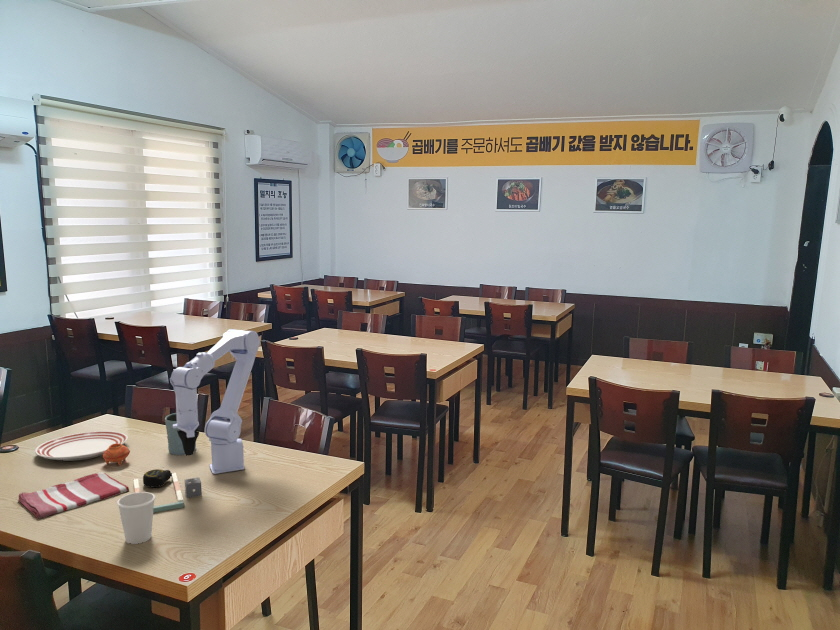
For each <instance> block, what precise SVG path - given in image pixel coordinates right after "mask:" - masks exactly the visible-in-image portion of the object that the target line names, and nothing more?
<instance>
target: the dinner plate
mask: <svg viewBox="0 0 840 630" xmlns="http://www.w3.org/2000/svg"><path fill="white" fill-rule="evenodd" d="M128 439H129V437H128V435H127V434H125V433H123V432H121V431H112V430H96V431H95V430H94V431H85V432H77V433H72V434H68V435H67V434H66V435H64V436H59V437H55V438H53V439H50V440H47V441H45V442H43V443H41V444H39V445H38V446H37V447H36V448H35V449H34V453H35V454H36V455H38V456H39V457H42V458H44V459H49V460H56V461H62V460H63V461H64V462H69V461H70V462H74V461H83V460H89V459H93V458H97V457H100V456H103V453H104V452H105V451H106V450H107V449H108V448H109V446H110V445H112V444H122V445H124V444H125V443H126V442H127V441H128Z"/></svg>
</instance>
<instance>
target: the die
mask: <svg viewBox="0 0 840 630" xmlns="http://www.w3.org/2000/svg"><path fill="white" fill-rule="evenodd" d="M184 493H185V498H186V499H191V498H196V497H202V493H203V492H202V481H201V478H200V477H199V476H198V477H192V478H186V479H184Z"/></svg>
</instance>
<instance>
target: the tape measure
mask: <svg viewBox="0 0 840 630" xmlns="http://www.w3.org/2000/svg"><path fill="white" fill-rule="evenodd" d="M172 473H173V472H172V471H171V470H170V469H159V468H158V469H150V470H148V471H146V472H145V473H144V474H143V476H142V483H143V485H144V486H145V487H146V488H147V487H148V488H157V487H163V486H164V485H165V483H167V481H169V480H170V479H171V478H172Z"/></svg>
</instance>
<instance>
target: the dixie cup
mask: <svg viewBox="0 0 840 630" xmlns="http://www.w3.org/2000/svg"><path fill="white" fill-rule="evenodd" d="M155 499H156V495H155V494H154V493H152V492H148V491H147V492H146V491H142V492H141V491H140V492H137V493H135V492H132V493H128V494H126V495H123V496H121V497H120V498H119V499H118V500H117V501H116V504H117V506H118V510H119V515H120V519H121V525H122V528H123V533H124V538H125V543H126V544H129V543H131V544H130V545H138V543H139V544H142V542H143V543H145V542H147V541H149V540H151V539H152V533H153V532H152V530H153V517H154V513H153V508H154V506H155Z"/></svg>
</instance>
